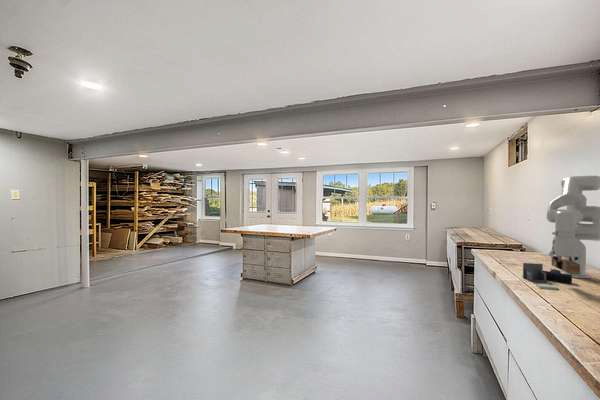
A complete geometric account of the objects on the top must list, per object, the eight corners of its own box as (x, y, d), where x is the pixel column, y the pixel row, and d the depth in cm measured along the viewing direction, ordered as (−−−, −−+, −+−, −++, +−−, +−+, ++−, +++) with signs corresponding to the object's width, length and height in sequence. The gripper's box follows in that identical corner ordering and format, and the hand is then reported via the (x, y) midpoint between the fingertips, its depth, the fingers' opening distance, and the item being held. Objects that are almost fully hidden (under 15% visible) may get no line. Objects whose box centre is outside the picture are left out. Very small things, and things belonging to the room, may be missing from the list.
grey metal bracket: (522, 278, 165) (522, 262, 165) (541, 279, 163) (541, 263, 162) (528, 281, 158) (528, 265, 158) (548, 283, 156) (548, 266, 156)
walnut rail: (551, 265, 157) (551, 256, 157) (560, 265, 156) (560, 256, 156) (570, 273, 142) (570, 264, 142) (579, 274, 141) (579, 264, 141)
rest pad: (536, 286, 151) (536, 284, 151) (554, 287, 148) (554, 285, 148) (540, 288, 147) (540, 286, 147) (559, 289, 144) (559, 287, 144)
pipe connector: (539, 266, 172) (573, 271, 161) (539, 275, 172) (573, 280, 161) (535, 270, 165) (570, 275, 153) (535, 279, 165) (570, 285, 153)
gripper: (549, 235, 147) (549, 270, 148) (589, 236, 142) (589, 271, 143) (541, 233, 155) (542, 266, 155) (580, 233, 149) (580, 267, 150)
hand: (564, 268), depth 149 cm, fingers closed on walnut rail, 4 cm apart
